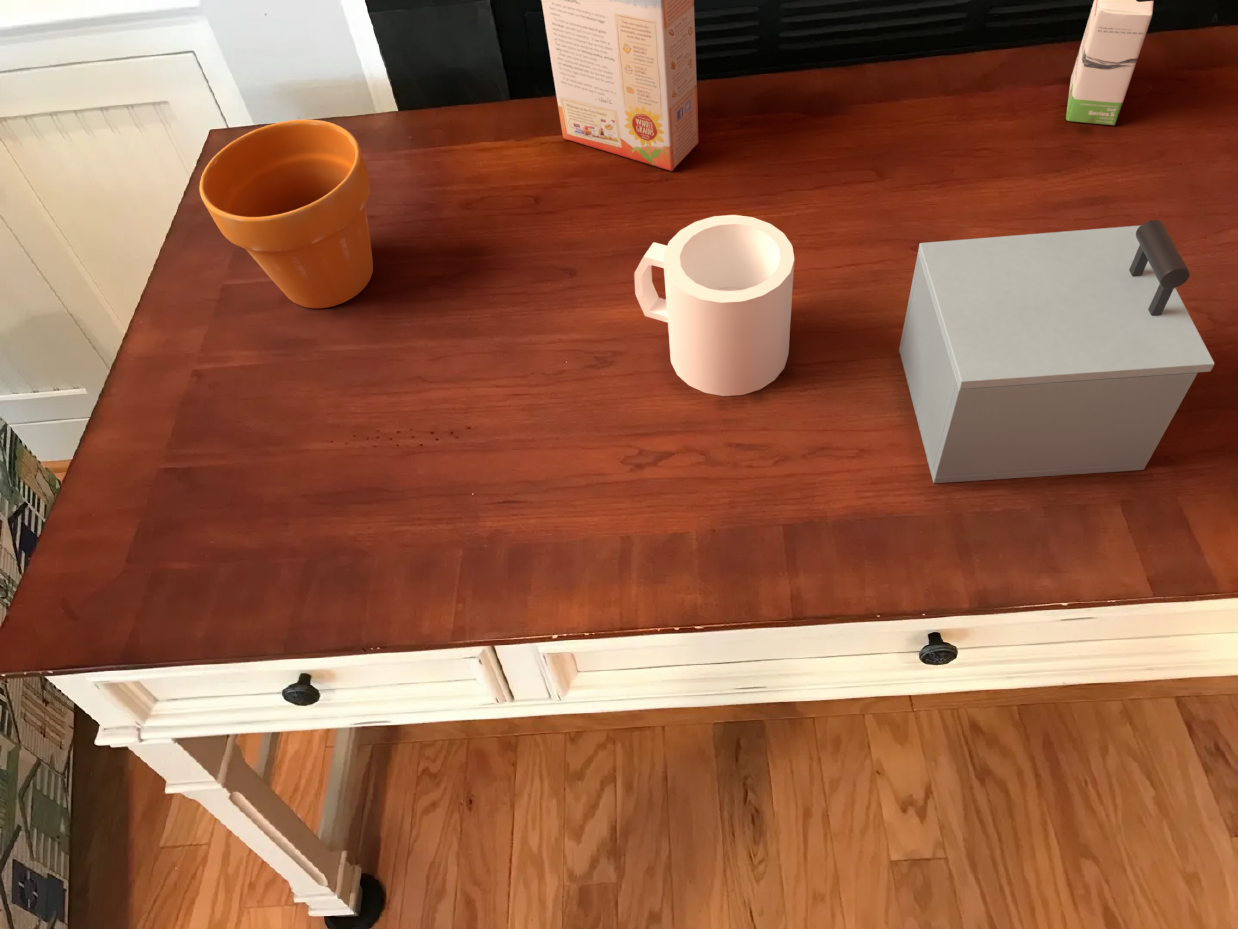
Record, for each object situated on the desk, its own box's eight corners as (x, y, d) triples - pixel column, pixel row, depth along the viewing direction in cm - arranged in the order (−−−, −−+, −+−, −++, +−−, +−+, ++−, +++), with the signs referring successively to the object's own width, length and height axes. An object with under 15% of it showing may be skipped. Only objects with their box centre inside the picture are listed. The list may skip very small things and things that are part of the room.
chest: (1087, 336, 82) (1128, 234, 74) (1143, 470, 74) (1197, 373, 65) (898, 349, 83) (917, 251, 75) (933, 483, 75) (959, 389, 66)
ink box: (1115, 127, 99) (1155, 14, 89) (1063, 121, 100) (1097, 9, 91) (1120, 80, 103) (1158, -33, 94) (1070, 75, 105) (1102, -36, 95)
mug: (615, 365, 85) (602, 272, 77) (665, 289, 90) (658, 194, 82) (761, 410, 81) (764, 317, 72) (805, 328, 86) (813, 231, 77)
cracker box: (701, 142, 103) (695, -62, 87) (671, 174, 101) (659, -30, 84) (592, 110, 109) (566, -88, 92) (561, 139, 106) (529, -59, 90)
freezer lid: (1139, 233, 74) (1163, 175, 70) (1210, 371, 65) (1242, 315, 61) (917, 250, 75) (928, 194, 71) (959, 389, 66) (974, 335, 62)
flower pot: (235, 329, 93) (173, 219, 82) (282, 230, 101) (230, 119, 91) (379, 331, 91) (334, 218, 80) (414, 230, 99) (377, 116, 89)
